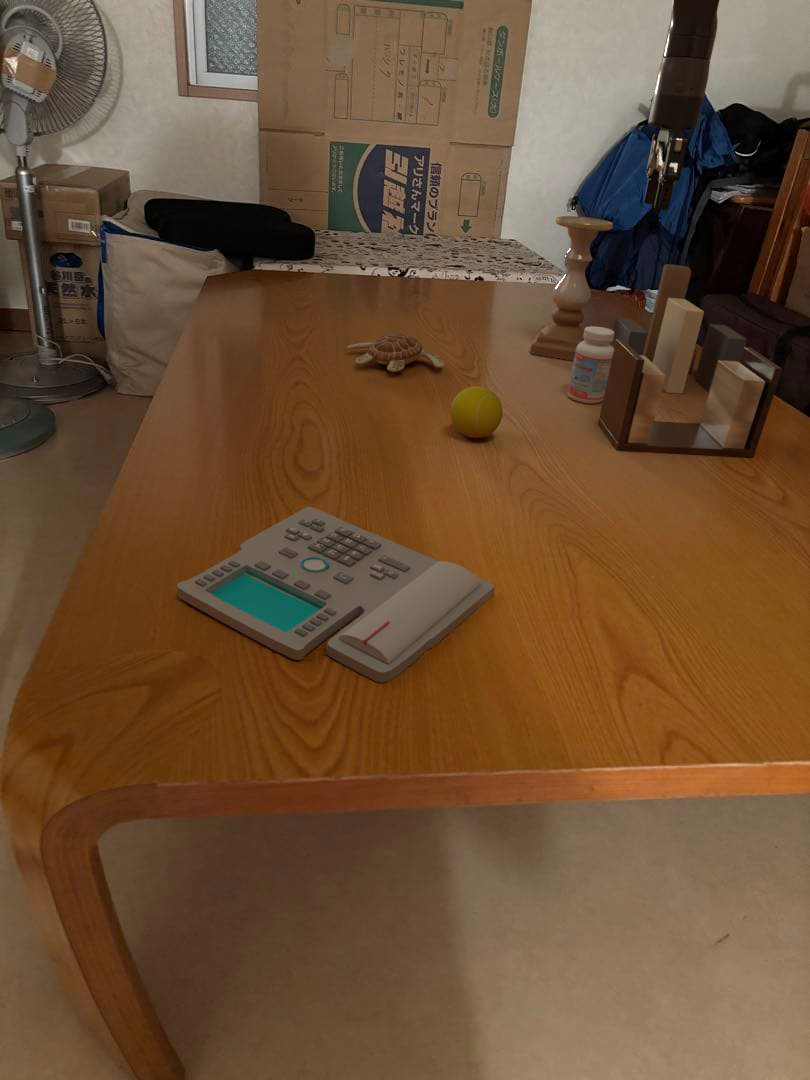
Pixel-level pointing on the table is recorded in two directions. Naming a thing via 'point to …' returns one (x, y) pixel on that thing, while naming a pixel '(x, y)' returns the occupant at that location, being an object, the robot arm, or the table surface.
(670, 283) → the wooden block
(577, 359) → the pill bottle
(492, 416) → the tennis ball
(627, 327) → the grey books
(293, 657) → the office telephone
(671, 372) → the cream book
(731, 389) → the book rack
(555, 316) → the candle holder
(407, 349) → the decorative turtle
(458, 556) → the table surface
